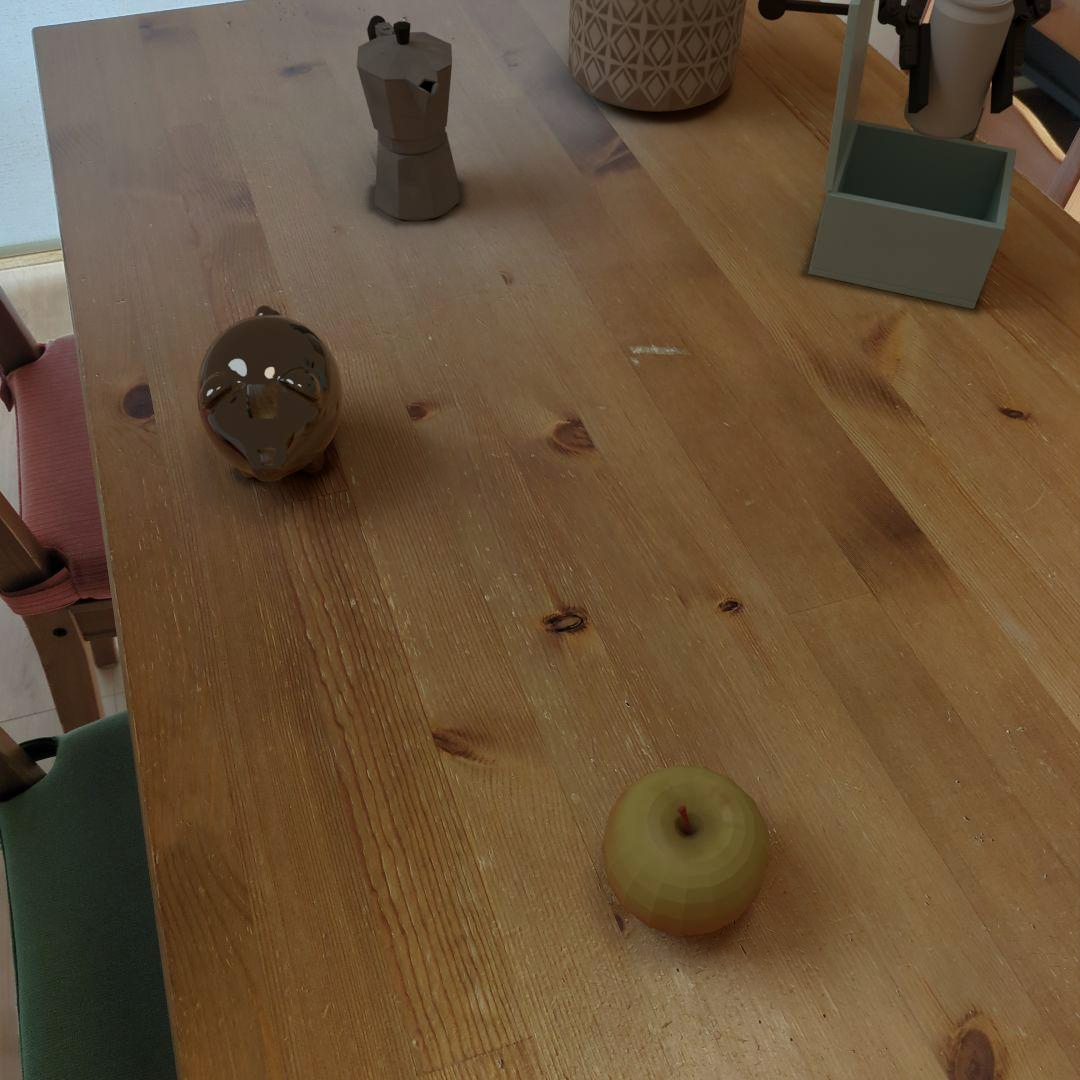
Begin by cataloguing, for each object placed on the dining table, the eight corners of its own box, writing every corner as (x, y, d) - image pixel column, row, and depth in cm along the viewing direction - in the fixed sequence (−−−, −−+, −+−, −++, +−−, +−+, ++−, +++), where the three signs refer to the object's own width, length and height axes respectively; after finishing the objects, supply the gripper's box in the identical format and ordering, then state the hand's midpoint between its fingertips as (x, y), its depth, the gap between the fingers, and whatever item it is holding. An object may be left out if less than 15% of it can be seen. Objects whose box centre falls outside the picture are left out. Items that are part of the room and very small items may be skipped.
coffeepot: (485, 218, 112) (479, 43, 98) (398, 242, 110) (379, 67, 96) (426, 143, 121) (413, -27, 107) (344, 164, 118) (320, -8, 104)
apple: (621, 783, 73) (630, 721, 67) (769, 824, 71) (792, 764, 65) (581, 926, 67) (586, 872, 61) (742, 974, 65) (764, 924, 59)
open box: (987, 228, 112) (1016, 149, 105) (973, 309, 104) (1004, 229, 97) (832, 197, 115) (851, 118, 108) (807, 274, 107) (826, 194, 100)
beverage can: (970, 150, 97) (1017, 12, 87) (895, 136, 98) (934, -2, 89) (978, 114, 100) (1024, -22, 91) (906, 100, 102) (944, -35, 92)
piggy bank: (208, 526, 86) (171, 420, 77) (220, 394, 96) (188, 286, 87) (353, 514, 87) (333, 408, 78) (351, 384, 97) (332, 276, 88)
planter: (648, 24, 138) (660, -120, 126) (767, 84, 129) (793, -65, 117) (533, 77, 130) (533, -72, 117) (653, 144, 121) (667, -9, 108)
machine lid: (885, -65, 95) (784, -72, 98) (859, 4, 87) (749, -5, 90) (856, 114, 108) (767, 105, 110) (832, 190, 100) (736, 178, 102)
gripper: (1064, -156, 96) (1052, 121, 98) (840, -157, 95) (833, 120, 98) (1110, -205, 88) (1095, 96, 90) (867, -207, 88) (858, 95, 90)
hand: (959, 108), depth 94 cm, fingers closed on beverage can, 6 cm apart
